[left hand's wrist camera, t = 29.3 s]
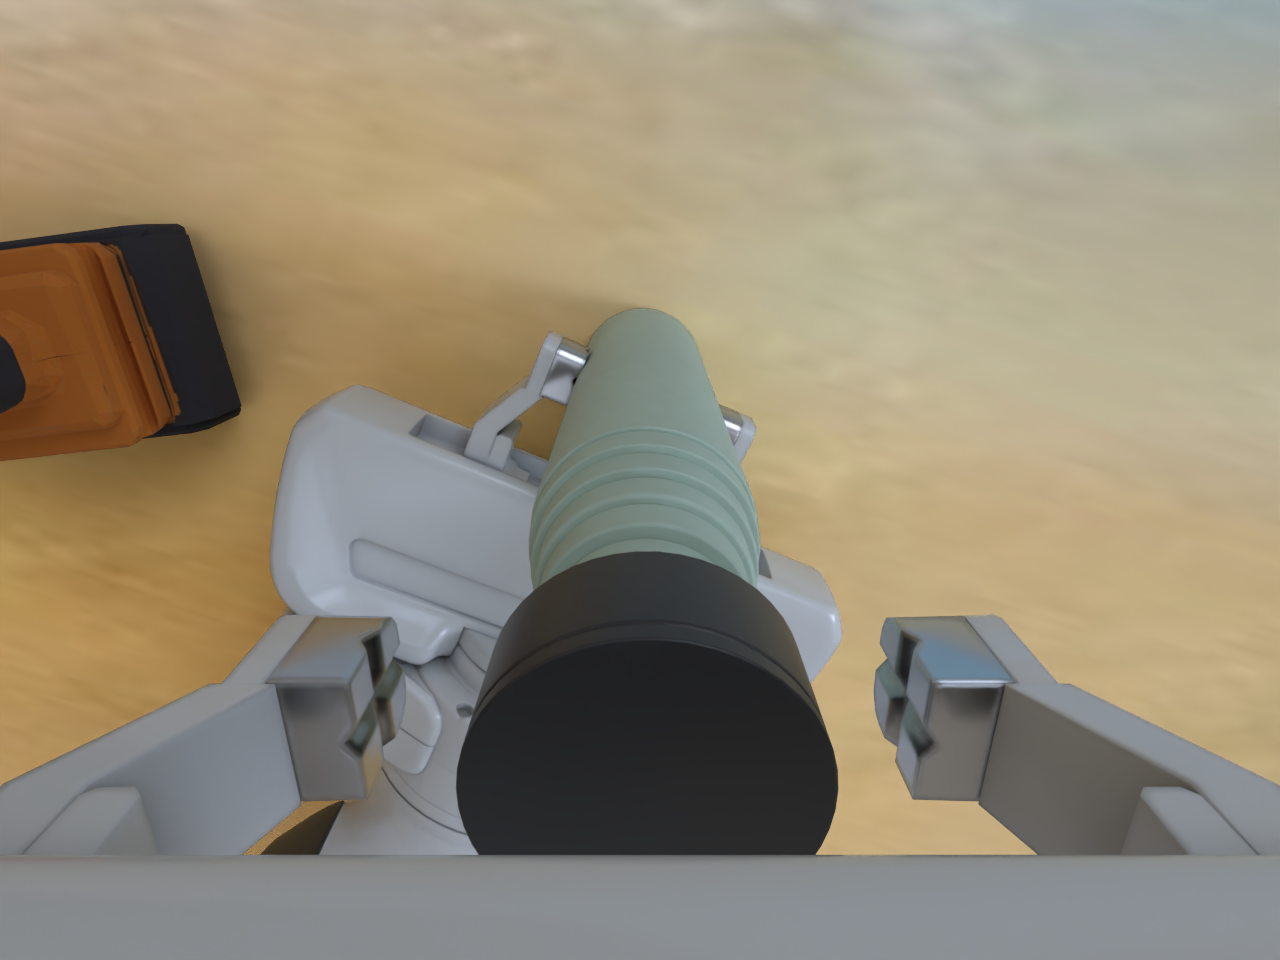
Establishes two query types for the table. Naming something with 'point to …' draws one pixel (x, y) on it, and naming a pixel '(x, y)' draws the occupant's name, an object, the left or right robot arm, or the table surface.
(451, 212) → the table surface
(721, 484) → the bottle
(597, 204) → the table surface
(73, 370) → the power drill
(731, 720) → the cap
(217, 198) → the table surface
